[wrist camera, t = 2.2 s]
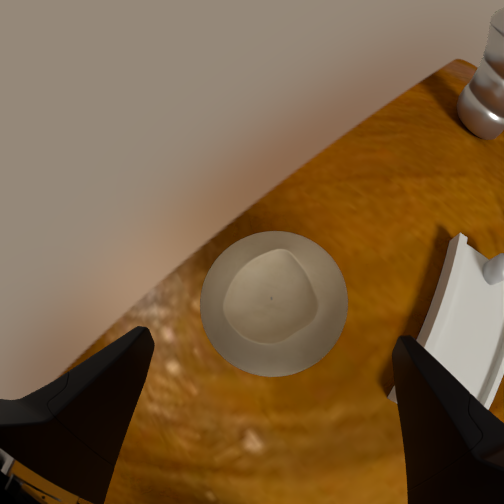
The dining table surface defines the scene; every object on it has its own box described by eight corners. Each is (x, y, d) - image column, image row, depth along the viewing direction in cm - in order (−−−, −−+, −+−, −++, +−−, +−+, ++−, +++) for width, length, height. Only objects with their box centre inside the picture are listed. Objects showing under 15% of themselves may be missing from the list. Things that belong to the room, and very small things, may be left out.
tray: (464, 428, 12) (484, 437, 9) (387, 397, 15) (403, 406, 12) (514, 287, 15) (534, 279, 12) (449, 241, 17) (468, 226, 15)
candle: (260, 267, 19) (229, 194, 10) (334, 296, 18) (378, 247, 8) (227, 339, 18) (160, 336, 8) (302, 371, 16) (315, 408, 7)
